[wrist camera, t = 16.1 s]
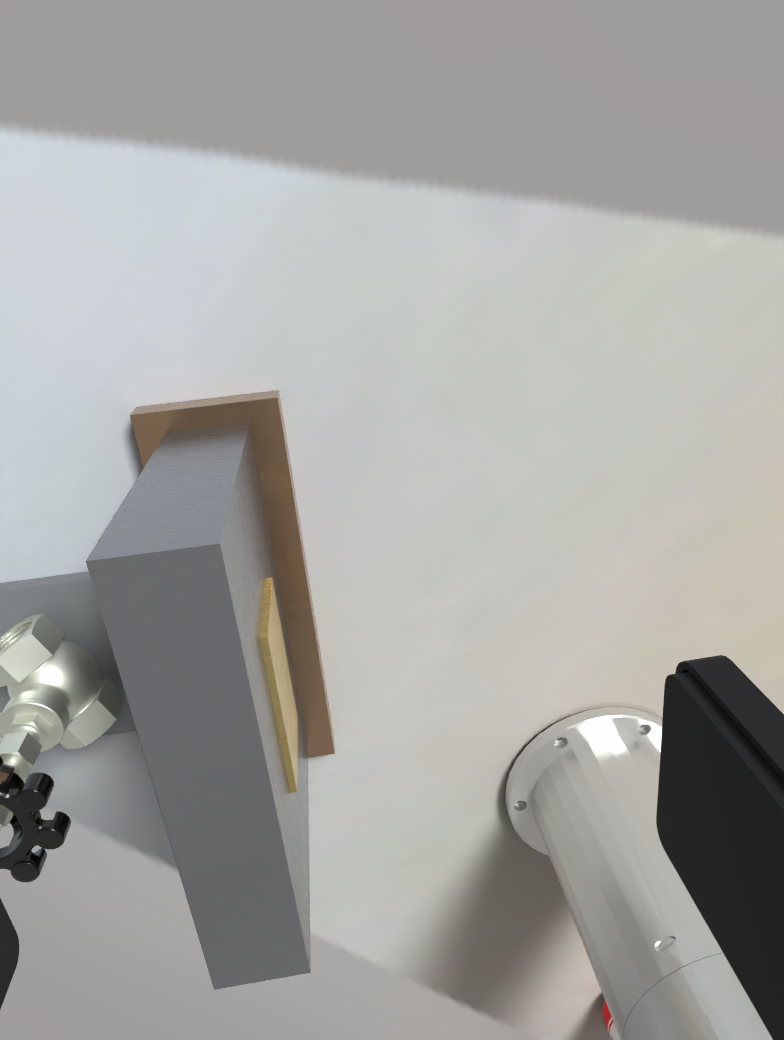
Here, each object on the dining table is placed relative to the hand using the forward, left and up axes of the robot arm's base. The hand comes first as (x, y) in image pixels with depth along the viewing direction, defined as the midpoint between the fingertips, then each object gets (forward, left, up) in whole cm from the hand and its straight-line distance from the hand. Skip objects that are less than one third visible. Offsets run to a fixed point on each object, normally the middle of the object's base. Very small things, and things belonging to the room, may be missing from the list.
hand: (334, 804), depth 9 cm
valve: (+15, +14, -28) cm, 34 cm away
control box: (+5, +12, -28) cm, 31 cm away
